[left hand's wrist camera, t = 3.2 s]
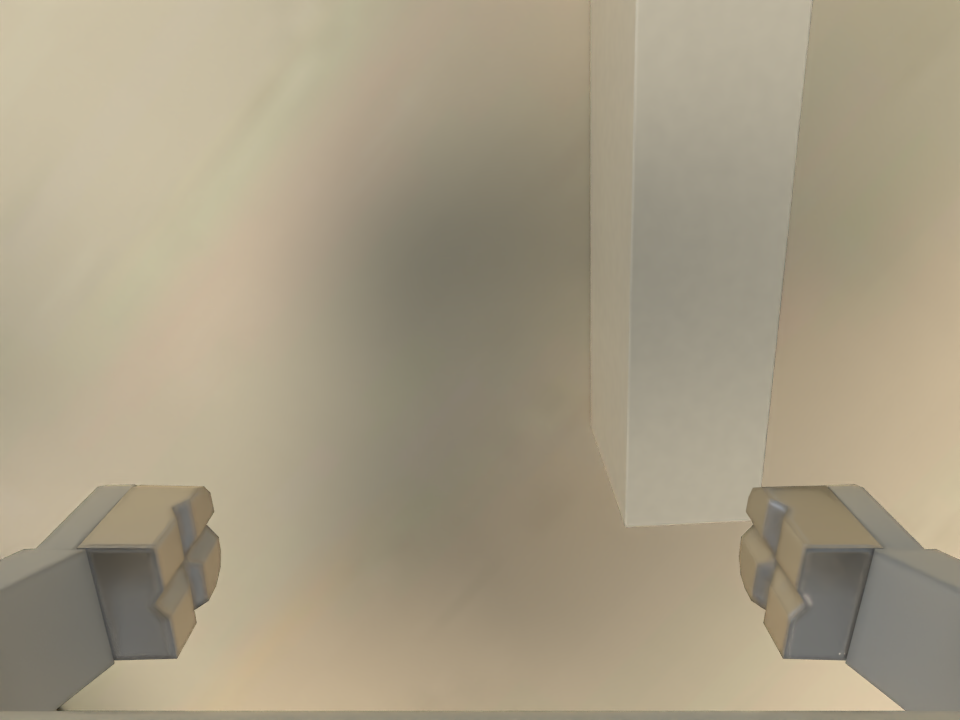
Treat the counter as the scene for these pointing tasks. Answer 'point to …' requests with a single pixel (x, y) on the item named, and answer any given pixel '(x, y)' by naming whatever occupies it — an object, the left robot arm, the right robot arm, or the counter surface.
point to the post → (689, 244)
